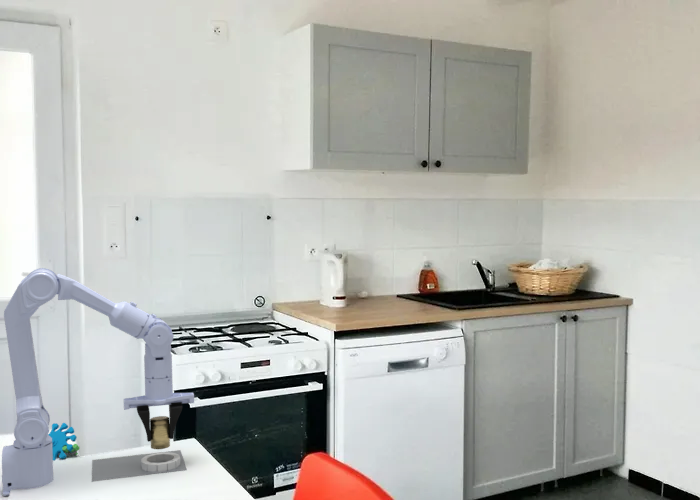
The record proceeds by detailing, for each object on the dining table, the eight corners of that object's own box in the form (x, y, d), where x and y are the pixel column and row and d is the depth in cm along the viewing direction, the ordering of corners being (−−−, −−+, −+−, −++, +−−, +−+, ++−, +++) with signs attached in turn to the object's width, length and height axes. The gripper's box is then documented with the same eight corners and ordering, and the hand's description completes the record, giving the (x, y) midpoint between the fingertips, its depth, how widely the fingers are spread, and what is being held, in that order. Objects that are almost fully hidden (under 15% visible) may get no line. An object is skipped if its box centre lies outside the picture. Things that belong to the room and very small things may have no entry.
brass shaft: (151, 450, 156) (151, 422, 156) (149, 444, 160) (149, 417, 159) (171, 447, 157) (170, 420, 157) (168, 442, 161) (167, 415, 161)
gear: (21, 456, 164) (46, 416, 170) (33, 468, 168) (57, 429, 174) (62, 467, 161) (86, 427, 167) (73, 479, 165) (96, 439, 171)
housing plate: (91, 486, 149) (91, 474, 149) (92, 464, 163) (92, 453, 163) (187, 474, 156) (186, 462, 155) (180, 454, 169) (180, 443, 169)
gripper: (123, 383, 152) (125, 448, 152) (195, 377, 156) (196, 440, 157) (122, 376, 158) (124, 438, 159) (191, 370, 163) (192, 431, 164)
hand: (160, 438), depth 158 cm, fingers closed on brass shaft, 4 cm apart
